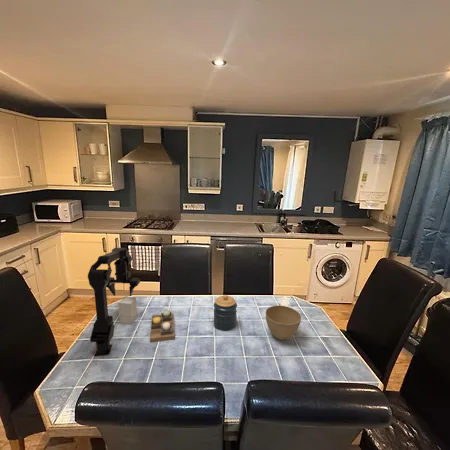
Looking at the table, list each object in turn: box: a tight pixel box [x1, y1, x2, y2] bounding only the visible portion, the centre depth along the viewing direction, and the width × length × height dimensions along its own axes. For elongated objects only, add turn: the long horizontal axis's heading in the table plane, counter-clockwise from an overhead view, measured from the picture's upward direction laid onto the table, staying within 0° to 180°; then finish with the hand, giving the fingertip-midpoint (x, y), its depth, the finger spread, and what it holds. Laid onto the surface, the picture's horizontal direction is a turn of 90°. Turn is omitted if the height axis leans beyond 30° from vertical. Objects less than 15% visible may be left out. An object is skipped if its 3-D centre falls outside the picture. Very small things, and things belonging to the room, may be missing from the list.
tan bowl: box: [265, 305, 302, 341], centre depth 132 cm, size 18×18×12 cm
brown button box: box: [149, 311, 176, 343], centre depth 136 cm, size 21×12×4 cm, turn 13°
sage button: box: [162, 309, 171, 318], centre depth 141 cm, size 4×4×2 cm
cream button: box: [163, 322, 170, 331], centre depth 130 cm, size 4×4×2 cm
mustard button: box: [153, 317, 161, 325], centre depth 135 cm, size 4×4×2 cm
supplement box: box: [117, 296, 138, 325], centre depth 142 cm, size 7×7×13 cm
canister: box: [213, 294, 238, 331], centre depth 140 cm, size 13×13×18 cm
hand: (122, 295), depth 142 cm, fingers open, 9 cm apart
